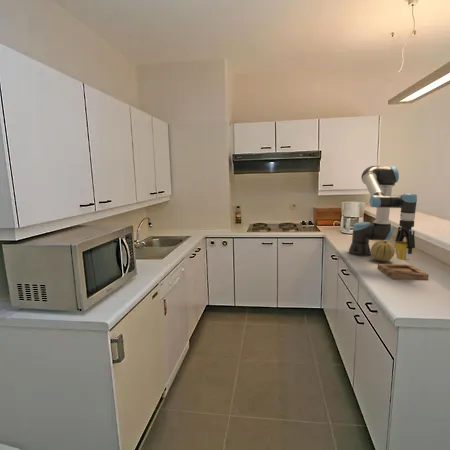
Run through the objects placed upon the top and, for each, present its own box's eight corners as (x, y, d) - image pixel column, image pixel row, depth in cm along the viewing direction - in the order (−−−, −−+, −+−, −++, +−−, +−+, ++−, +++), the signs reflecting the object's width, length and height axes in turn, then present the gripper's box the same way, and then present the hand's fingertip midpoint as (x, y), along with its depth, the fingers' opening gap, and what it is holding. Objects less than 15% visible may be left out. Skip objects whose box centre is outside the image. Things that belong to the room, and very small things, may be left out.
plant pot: (402, 255, 198) (403, 240, 197) (417, 260, 189) (419, 243, 187) (389, 257, 195) (390, 241, 193) (404, 261, 185) (406, 245, 184)
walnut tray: (377, 268, 204) (377, 264, 203) (409, 269, 203) (410, 264, 203) (392, 279, 184) (393, 274, 184) (428, 279, 184) (428, 274, 183)
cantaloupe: (381, 257, 230) (382, 237, 227) (398, 263, 216) (400, 241, 214) (364, 259, 224) (366, 238, 222) (381, 265, 211) (384, 243, 208)
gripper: (391, 217, 199) (388, 251, 203) (411, 222, 177) (407, 261, 181) (403, 217, 199) (400, 251, 203) (425, 223, 177) (420, 261, 180)
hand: (403, 256), depth 192 cm, fingers closed on plant pot, 10 cm apart
